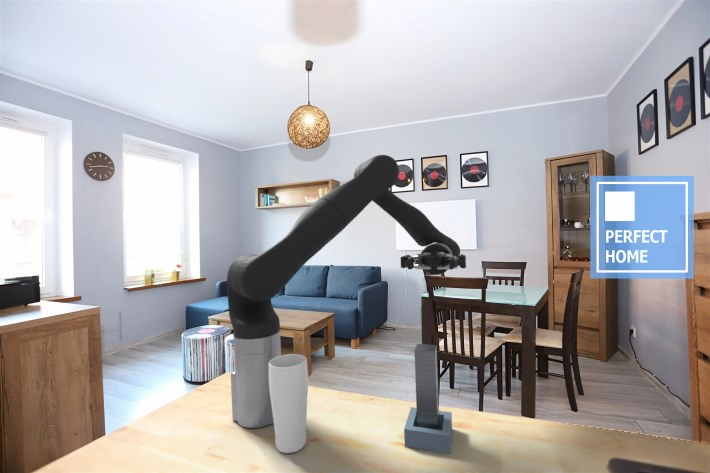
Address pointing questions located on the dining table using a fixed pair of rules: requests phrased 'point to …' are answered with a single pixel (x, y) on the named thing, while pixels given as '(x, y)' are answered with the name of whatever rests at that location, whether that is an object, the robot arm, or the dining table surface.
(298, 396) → the drinking glass
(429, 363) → the square bit
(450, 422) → the socket block
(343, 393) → the dining table surface
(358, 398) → the dining table surface
